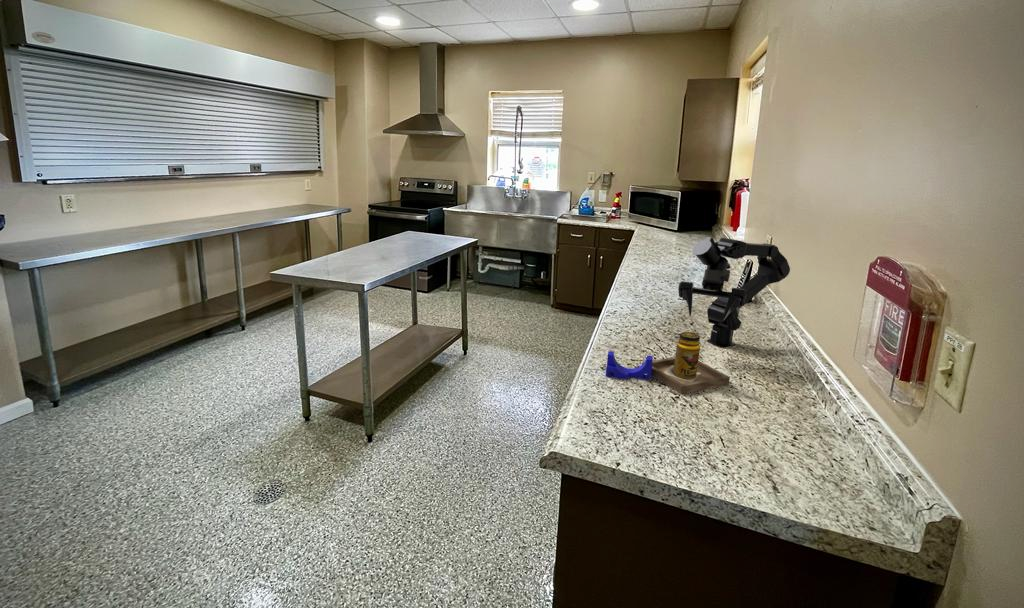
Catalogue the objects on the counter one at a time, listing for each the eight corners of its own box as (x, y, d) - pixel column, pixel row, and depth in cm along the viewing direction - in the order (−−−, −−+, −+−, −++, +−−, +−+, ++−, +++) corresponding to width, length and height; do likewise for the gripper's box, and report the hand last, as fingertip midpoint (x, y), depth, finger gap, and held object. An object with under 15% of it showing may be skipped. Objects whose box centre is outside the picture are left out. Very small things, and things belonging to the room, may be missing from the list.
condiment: (692, 382, 134) (698, 341, 131) (661, 374, 139) (666, 333, 136) (701, 374, 140) (706, 333, 137) (671, 366, 145) (676, 326, 141)
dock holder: (686, 361, 150) (687, 354, 149) (728, 384, 135) (730, 377, 135) (641, 369, 143) (642, 362, 143) (680, 394, 129) (681, 386, 128)
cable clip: (605, 377, 138) (607, 356, 137) (606, 370, 143) (608, 350, 141) (650, 382, 136) (652, 362, 134) (650, 376, 140) (652, 356, 138)
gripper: (683, 254, 151) (672, 298, 145) (751, 262, 143) (742, 309, 137) (684, 275, 160) (673, 317, 154) (748, 283, 152) (740, 328, 146)
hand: (706, 317), depth 147 cm, fingers open, 9 cm apart
